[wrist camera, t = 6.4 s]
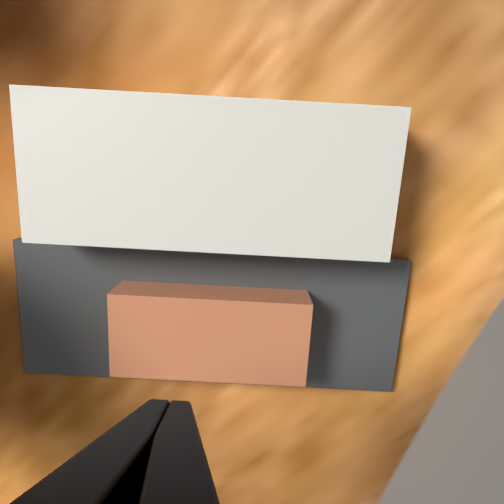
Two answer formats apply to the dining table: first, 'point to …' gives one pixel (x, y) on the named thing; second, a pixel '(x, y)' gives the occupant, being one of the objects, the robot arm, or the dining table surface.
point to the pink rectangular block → (209, 333)
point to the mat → (210, 273)
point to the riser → (207, 173)
